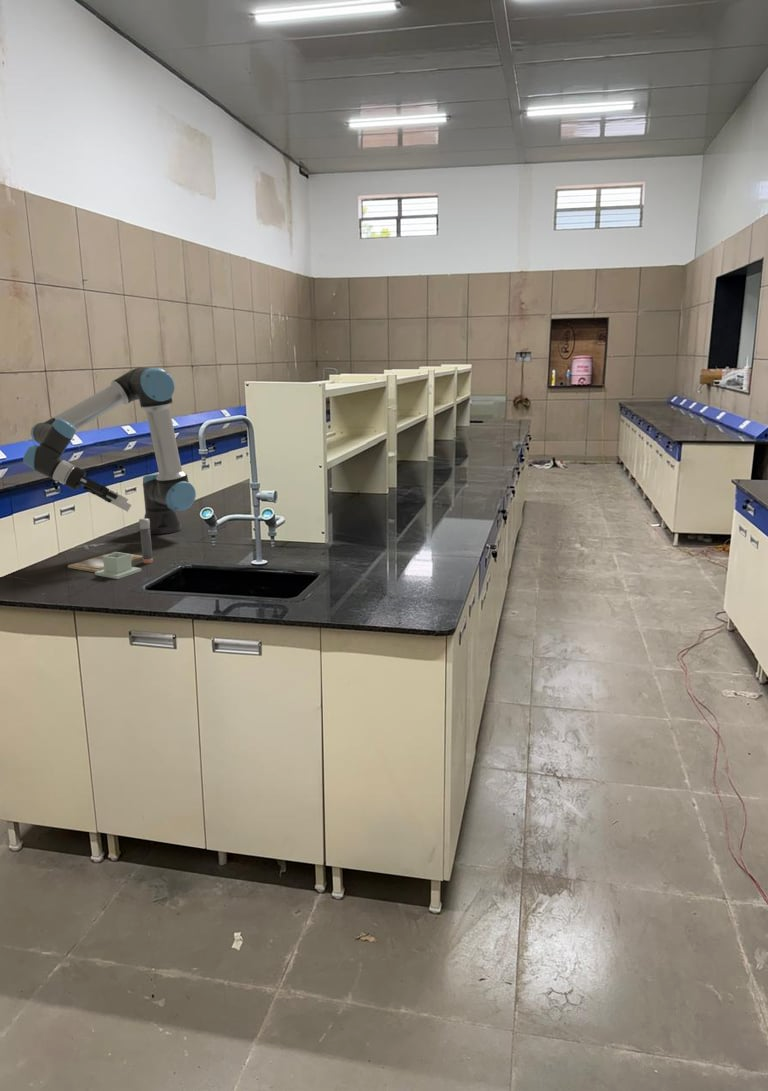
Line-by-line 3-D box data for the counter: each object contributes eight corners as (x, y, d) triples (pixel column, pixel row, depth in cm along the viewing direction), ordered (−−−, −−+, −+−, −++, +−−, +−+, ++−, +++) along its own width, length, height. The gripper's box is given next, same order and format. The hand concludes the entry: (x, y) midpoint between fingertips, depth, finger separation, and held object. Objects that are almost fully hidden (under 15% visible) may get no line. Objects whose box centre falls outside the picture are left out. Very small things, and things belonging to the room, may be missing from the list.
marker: (147, 560, 253) (144, 518, 249) (155, 561, 252) (151, 518, 248) (140, 562, 250) (136, 519, 247) (147, 564, 249) (144, 520, 245)
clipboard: (114, 553, 262) (114, 549, 262) (143, 558, 256) (143, 554, 255) (68, 567, 245) (67, 563, 244) (97, 573, 239) (97, 568, 238)
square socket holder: (119, 567, 245) (117, 549, 244) (141, 571, 241) (139, 553, 239) (95, 574, 236) (93, 557, 235) (117, 579, 232) (115, 560, 230)
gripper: (70, 491, 262) (125, 519, 266) (58, 478, 238) (118, 510, 242) (81, 473, 264) (135, 501, 268) (70, 459, 240) (130, 490, 244)
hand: (127, 505), depth 255 cm, fingers open, 13 cm apart
